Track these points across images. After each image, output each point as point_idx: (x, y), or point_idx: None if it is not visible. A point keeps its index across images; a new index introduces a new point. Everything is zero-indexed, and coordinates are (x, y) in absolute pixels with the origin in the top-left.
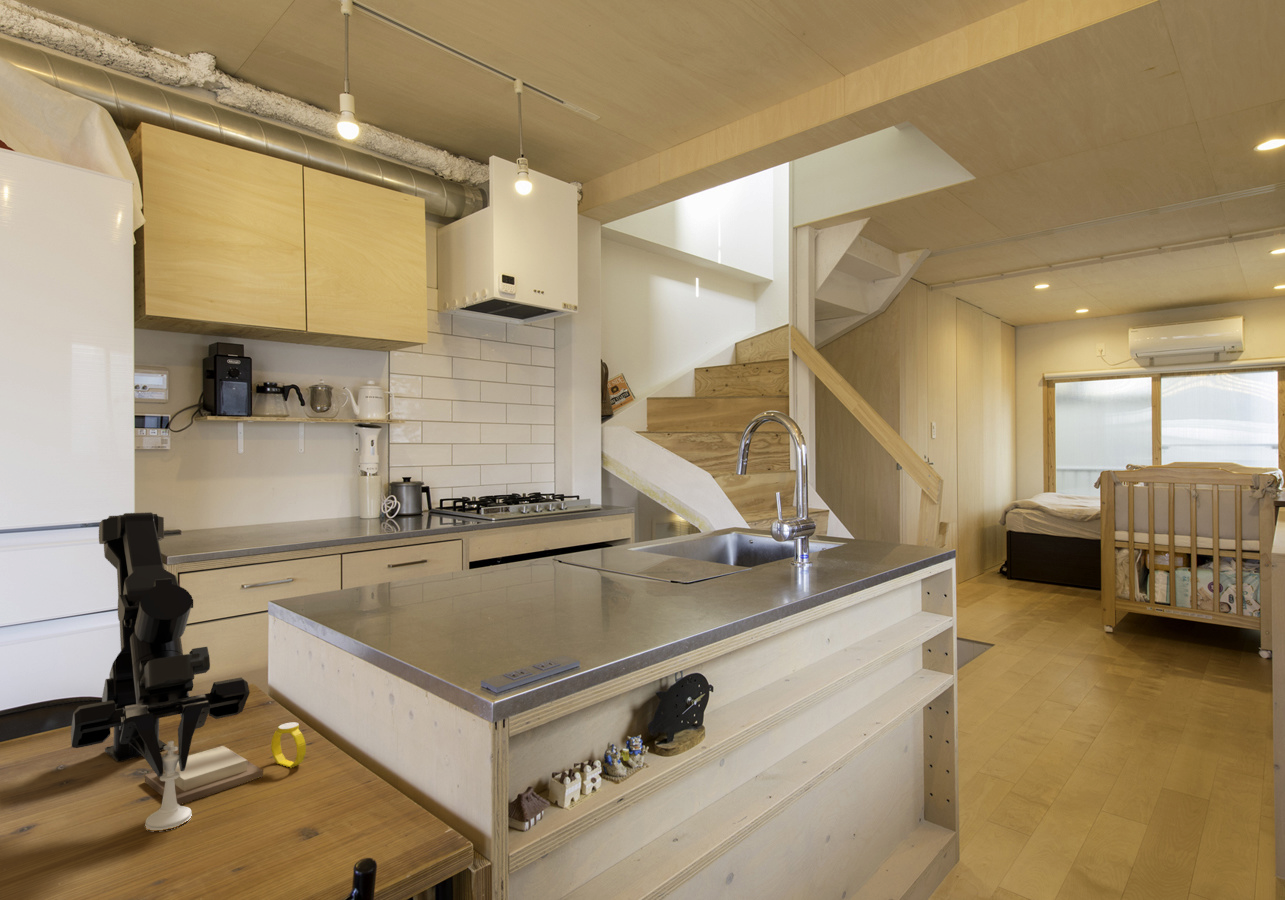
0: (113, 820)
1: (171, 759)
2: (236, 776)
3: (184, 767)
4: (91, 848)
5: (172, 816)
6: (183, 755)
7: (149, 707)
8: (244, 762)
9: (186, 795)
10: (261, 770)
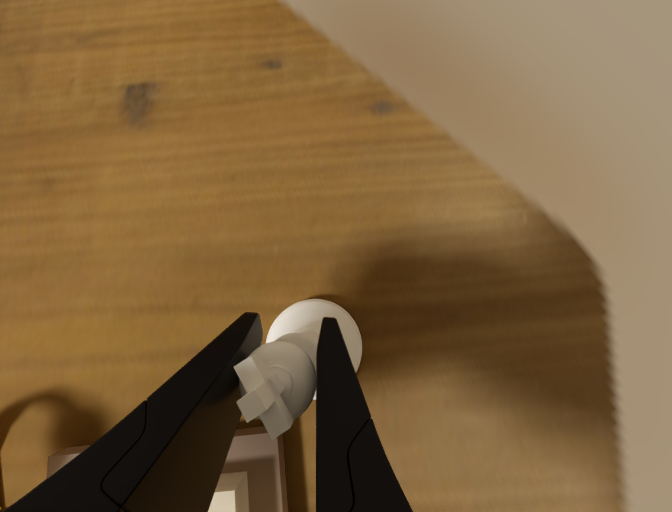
0: (412, 458)
1: (280, 345)
2: None
3: (250, 313)
4: (467, 332)
5: (310, 320)
6: (231, 340)
7: None
8: None
9: (250, 434)
10: (52, 455)
